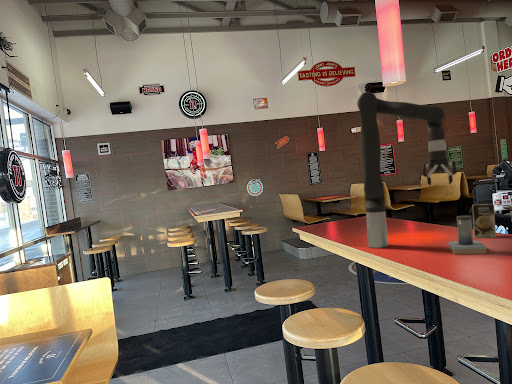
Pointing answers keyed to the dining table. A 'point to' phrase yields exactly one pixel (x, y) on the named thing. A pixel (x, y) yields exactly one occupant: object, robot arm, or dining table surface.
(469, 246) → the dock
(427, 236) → the dining table surface
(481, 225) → the coffee box
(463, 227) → the canister
